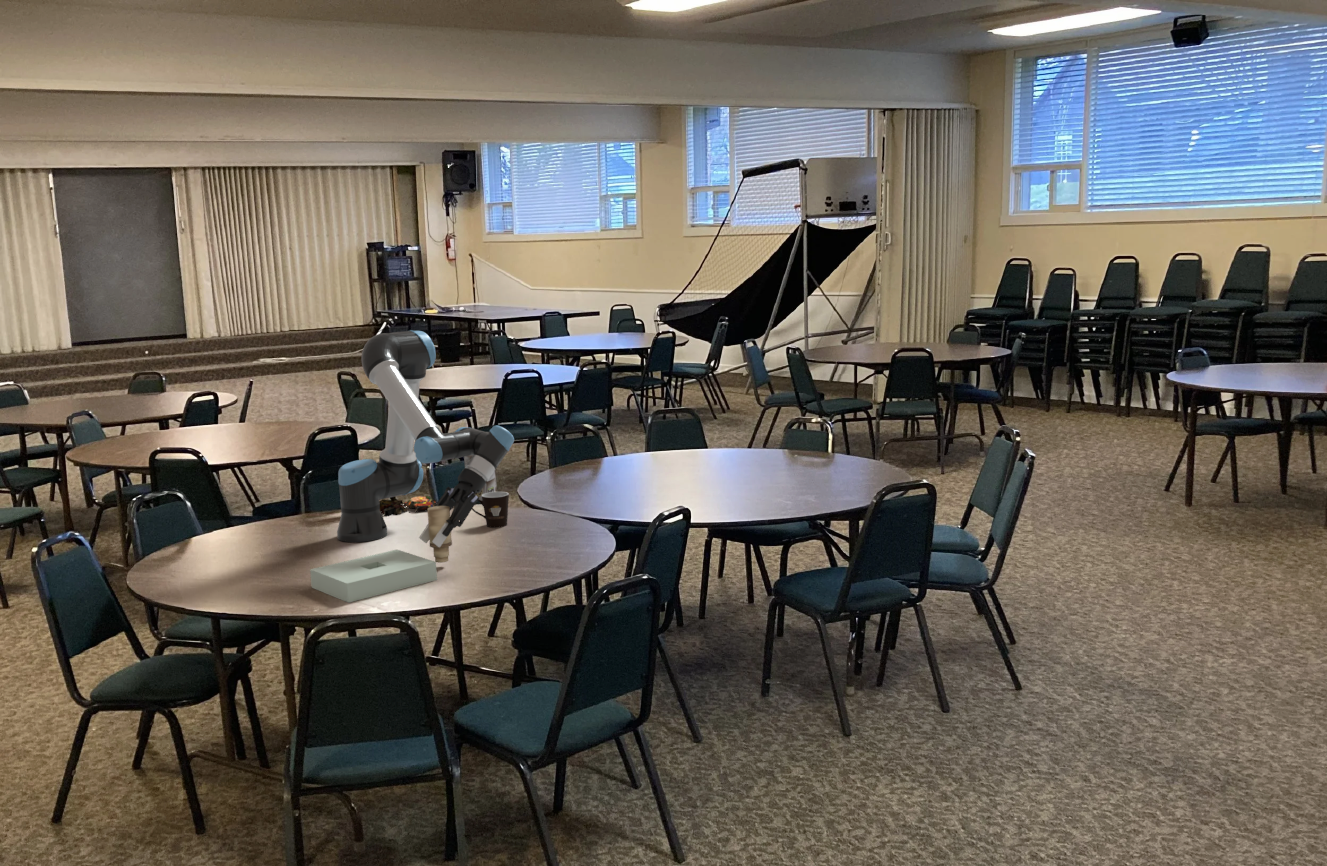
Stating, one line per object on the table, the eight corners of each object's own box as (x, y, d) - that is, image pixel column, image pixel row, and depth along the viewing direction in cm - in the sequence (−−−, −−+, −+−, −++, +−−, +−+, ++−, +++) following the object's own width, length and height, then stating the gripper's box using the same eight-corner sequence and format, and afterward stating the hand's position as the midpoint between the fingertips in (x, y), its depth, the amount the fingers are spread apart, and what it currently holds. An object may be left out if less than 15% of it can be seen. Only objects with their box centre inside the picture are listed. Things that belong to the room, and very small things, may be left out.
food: (378, 519, 385) (377, 508, 385) (369, 509, 403) (369, 499, 402) (444, 511, 394) (443, 501, 393) (432, 502, 411) (432, 492, 410)
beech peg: (426, 561, 322) (423, 508, 320) (445, 556, 326) (442, 504, 324) (438, 565, 318) (435, 512, 315) (457, 560, 322) (454, 508, 319)
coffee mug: (515, 522, 372) (513, 492, 370) (503, 529, 364) (501, 498, 362) (482, 521, 375) (481, 490, 374) (470, 527, 367) (468, 496, 366)
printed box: (498, 498, 409) (495, 453, 407) (488, 502, 403) (485, 456, 401) (476, 496, 413) (473, 452, 410) (466, 500, 407) (463, 455, 405)
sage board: (311, 587, 307) (310, 569, 306) (398, 566, 324) (396, 549, 323) (348, 602, 292) (347, 583, 291) (437, 579, 310) (435, 561, 309)
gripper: (503, 487, 322) (457, 556, 314) (465, 478, 336) (419, 544, 328) (486, 471, 318) (439, 541, 310) (448, 462, 331) (402, 529, 323)
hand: (429, 542), depth 319 cm, fingers closed on beech peg, 6 cm apart
